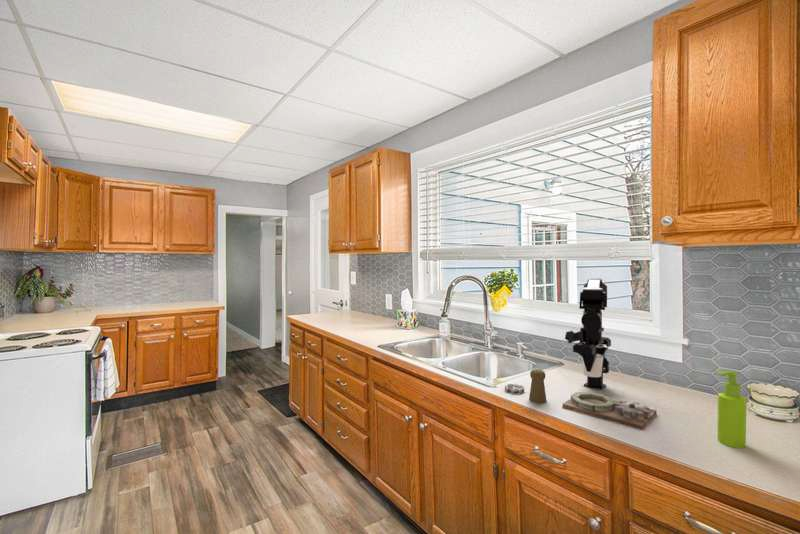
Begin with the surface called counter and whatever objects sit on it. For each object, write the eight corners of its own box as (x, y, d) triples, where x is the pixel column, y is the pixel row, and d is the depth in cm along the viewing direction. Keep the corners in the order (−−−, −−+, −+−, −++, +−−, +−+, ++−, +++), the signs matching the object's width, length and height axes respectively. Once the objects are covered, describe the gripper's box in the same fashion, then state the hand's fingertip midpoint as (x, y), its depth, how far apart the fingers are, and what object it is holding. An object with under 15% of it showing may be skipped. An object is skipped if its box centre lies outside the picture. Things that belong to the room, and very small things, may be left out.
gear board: (580, 395, 142) (581, 384, 142) (656, 414, 124) (656, 402, 124) (562, 407, 131) (562, 395, 131) (642, 429, 113) (642, 416, 113)
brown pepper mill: (548, 404, 134) (548, 373, 133) (530, 402, 135) (530, 372, 135) (545, 397, 140) (545, 368, 139) (527, 396, 141) (527, 367, 141)
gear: (507, 386, 152) (506, 382, 152) (525, 389, 149) (525, 385, 149) (503, 392, 146) (503, 388, 146) (522, 395, 143) (522, 391, 142)
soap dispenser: (708, 438, 108) (709, 368, 107) (731, 437, 108) (731, 367, 108) (728, 448, 102) (729, 375, 101) (751, 447, 102) (752, 374, 102)
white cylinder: (578, 375, 131) (578, 354, 131) (584, 370, 136) (584, 351, 136) (600, 379, 126) (600, 358, 126) (605, 374, 131) (606, 354, 131)
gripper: (579, 318, 143) (579, 359, 143) (557, 325, 130) (557, 370, 130) (611, 322, 135) (611, 365, 135) (591, 329, 122) (591, 377, 122)
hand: (592, 369), depth 131 cm, fingers closed on white cylinder, 6 cm apart
